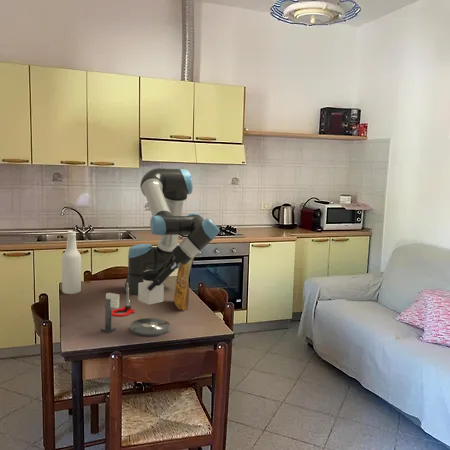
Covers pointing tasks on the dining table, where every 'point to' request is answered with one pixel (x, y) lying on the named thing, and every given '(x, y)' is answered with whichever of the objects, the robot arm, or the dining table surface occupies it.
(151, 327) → the disc
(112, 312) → the tow hook
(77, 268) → the alcohol
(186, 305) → the pancake mix bag
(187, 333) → the dining table surface
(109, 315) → the gray upright stand
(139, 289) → the medicine bottle
